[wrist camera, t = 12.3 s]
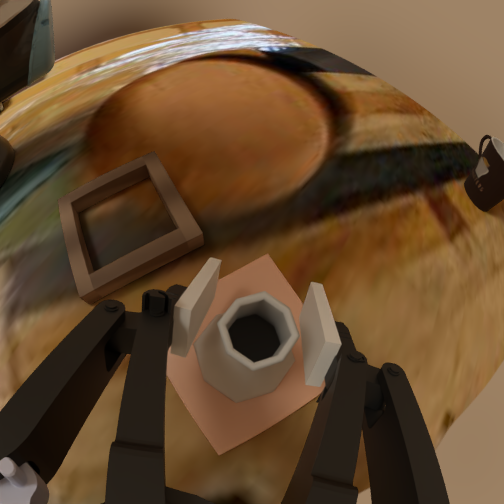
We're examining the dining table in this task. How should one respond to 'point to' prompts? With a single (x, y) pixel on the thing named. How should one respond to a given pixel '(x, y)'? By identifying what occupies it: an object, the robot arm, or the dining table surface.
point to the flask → (248, 347)
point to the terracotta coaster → (256, 409)
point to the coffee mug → (487, 175)
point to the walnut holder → (140, 259)
